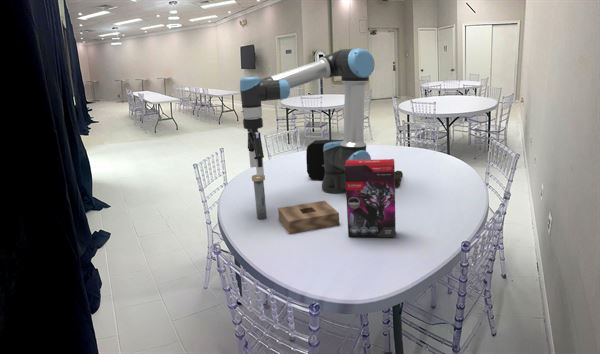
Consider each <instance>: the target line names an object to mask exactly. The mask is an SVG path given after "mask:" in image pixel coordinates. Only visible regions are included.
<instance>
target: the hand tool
mask: <svg viewBox="0 0 600 354" xmlns="http://www.w3.org/2000/svg"><path fill="white" fill-rule="evenodd" d="M403 175H404V174H403V171H402V170H395V189H398V188H400V186H401V185H400V184H401V180H402V178H403Z"/></svg>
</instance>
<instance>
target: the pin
mask: <svg viewBox="0 0 600 354" xmlns="http://www.w3.org/2000/svg"><path fill="white" fill-rule="evenodd" d="M265 180H266V175H265V174H264V175H257V174H253V175H251V181H252V182H253V189H254V199H255V210H256V211H255V212H256V219H257V220H260V221H263V220H266V219H267V218H268V217H267V206H266V195H265V193H266V192H265V184H264V181H265Z"/></svg>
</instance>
